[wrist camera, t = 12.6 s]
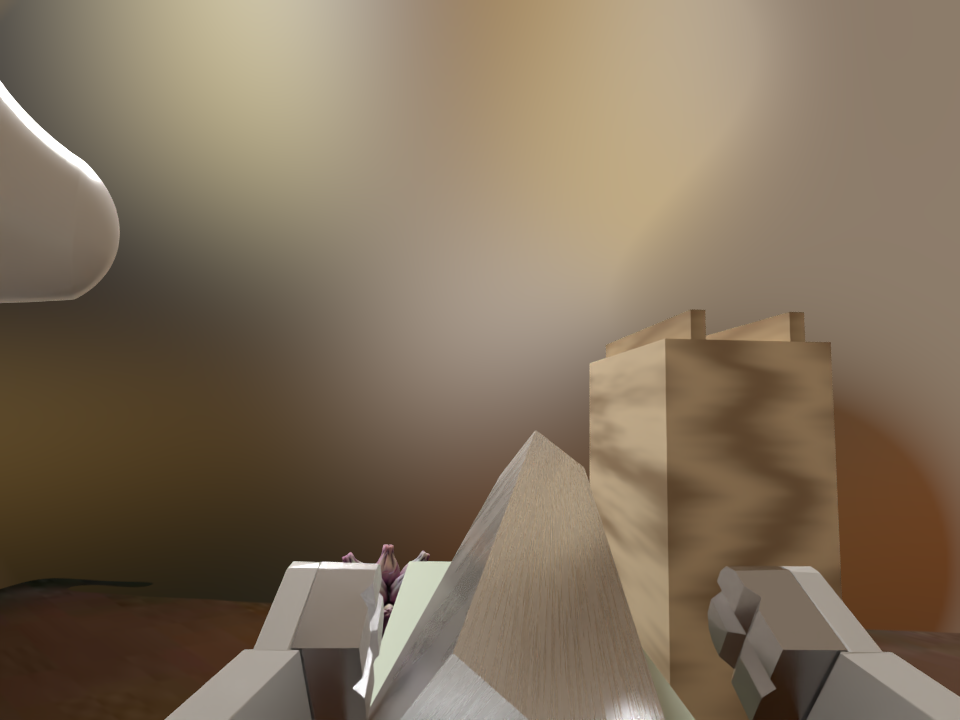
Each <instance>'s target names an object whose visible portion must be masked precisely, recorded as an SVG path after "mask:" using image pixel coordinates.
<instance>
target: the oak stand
mask: <svg viewBox="0 0 960 720" xmlns="http://www.w3.org/2000/svg"><path fill="white" fill-rule="evenodd" d="M590 487H591V491H592V494H593V497H594V500H595V503H596V506H597V509H598V512H599V515H600V518H601V522H602V525H603V528H604V531H605V534H606V537H607V540H608V543H609V546H610V549H611V553H612V556H613V559H614V562H615V565H616V568H617V571H618V574H619V577H620V581H621V584H622V587H623V590H624V593H625V596H626V599H627V602H628V605H629V608H630V612H631V615H632V618H633V621H634V624H635V627H636V630H637V633H638V636H639V639H640V643H641V646H642V648H643V649H644V651H645V652H646V653H647V655H648V656H649V657H650V659H651V660H652V661H653V663H654V664H655V666H656V667H657V668H658V670H659V671H660V672H661V674H662V675H663V676H664V678H665V679H666V681H667V682H668V683H669V685H670V686H671V687H672V689H673V690H674V691H675V693H676V694H677V696H678V697H679V698H680V700H681V701H682V702H683V704H684V705H685V706H686V708H687V709H688V711H689V712H690V713H691V715H692V716H693V717H694V719H695V720H749V718H748V716H747V714H746V712H745V710H744V708H743V706H742V704H741V702H740V700H739V698H738V695H737V693H736V691H735V689H734V687H733V685H732V683H731V680H732V675H733V670H734V669H733V668H732V667H731V666H730V665H729V664H727V663H726V662H725V661H724V660H723V659H722V658H720V657H719V655H718V653H717V651H716V649H715V646H714V644H713V642H712V639H711V635H710V632H709V626H708V609H709V606H710V602H711V599H712V598H713V597H715V596H716V595H717V594H718V593H720V592H721V591H722V590H721V588H720V586H719V584H718V582H717V580H718V577H719V574H720V571H721V570H722V569H723V568H725V567H726V566H779V567H782V566H811V567H812V568H814V569H815V570H817V571H818V572H819V573H820V574H821V575H822V576H823V578H824V579H825V580H826V581H827V583H828V584H829V585H830V586H831V588H832V589H833V590H834V591H835V593H836V594H837V595H838V596H839V598H840V599H841V600H842V592H841V568H840V545H839V524H838V501H837V477H836V455H835V433H834V411H833V388H832V366H831V343H830V342H805V330H804V313H803V312H788V313H785V314H781V315H777V316H774V317H771V318H767V319H763V320H760V321H756V322H753V323H750V324H746V325H742V326H739V327H735V328H731V329H728V330H725V331H721V332H718V333H714V334H710V335H707V336H706V326H705V310H688V311H686V312H684V313H681V314H679V315H676V316H674V317H672V318H669V319H667V320H665V321H662V322H660V323H658V324H655V325H653V326H650V327H648V328H645V329H643V330H641V331H638V332H636V333H633V334H631V335H629V336H626V337H624V338H622V339H619V340H617V341H614V342H612V343H610V344H607V345H606V358H604V359H601V360H598V361H595V362H592V363H590Z"/></svg>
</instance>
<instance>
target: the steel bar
mask: <svg viewBox="0 0 960 720" xmlns="http://www.w3.org/2000/svg"><path fill="white" fill-rule="evenodd" d="M368 720H665V717H664V714H663V711H662V708H661V705H660V702H659V698H658V695H657V692H656V689H655V686H654V683H653V680H652V677H651V674H650V670H649V667H648V664H647V661H646V658H645V655H644V652H643V649H642V646H641V643H640V639H639V636H638V633H637V630H636V627H635V624H634V621H633V618H632V615H631V612H630V608H629V605H628V602H627V599H626V596H625V593H624V590H623V587H622V584H621V581H620V577H619V574H618V571H617V568H616V565H615V562H614V559H613V556H612V553H611V549H610V546H609V543H608V540H607V537H606V534H605V531H604V528H603V525H602V522H601V518H600V515H599V512H598V509H597V506H596V503H595V500H594V497H593V494H592V491H591V487H590V484H589V482H588V478H587V475H586V472H585V469H584V467H583V466H581V465H580V464H579V463H577V462H576V461H575V460H574V459H572V458H571V457H570V456H569V455H567V454H566V453H565V452H563V451H562V450H560V449H559V448H558V447H557V446H556V445H554V444H553V443H552V442H551V441H549V440H548V439H547V438H545V437H544V436H543V435H542V434H540V433H539V432H538V431H536V430H535V431H534V433H533V434H532V435H531V437H530V438H529V439H528V440H527V442H526V443H525V444H524V446H523V447H522V448H521V449H520V451H519V452H518V453H517V455H516V456H515V457H514V458H513V460H512V461H511V462H510V464H509V465H508V466H507V467H506V469H505V470H504V471H503V473H502V474H501V475H500V477H499V478H498V480H497V482H496V484H495V486H494V487H493V489H492V491H491V493H490V494H489V496H488V498H487V500H486V501H485V503H484V505H483V507H482V509H481V511H480V512H479V514H478V516H477V517H476V520H475V521H474V523H473V525H472V526H471V528H470V530H469V532H468V534H467V535H466V537H465V539H464V541H463V543H462V544H461V546H460V548H459V550H458V551H457V553H456V555H455V557H454V558H453V560H452V562H451V564H450V566H449V567H448V569H447V571H446V573H445V575H444V576H443V578H442V580H441V582H440V583H439V585H438V587H437V589H436V591H435V592H434V594H433V596H432V598H431V599H430V601H429V603H428V605H427V607H426V608H425V610H424V612H423V614H422V615H421V617H420V619H419V621H418V623H417V624H416V626H415V628H414V630H413V632H412V633H411V635H410V637H409V639H408V640H407V642H406V644H405V646H404V648H403V649H402V651H401V653H400V655H399V656H398V658H397V660H396V662H395V664H394V665H393V667H392V669H391V671H390V672H389V674H388V676H387V678H386V680H385V681H384V683H383V685H382V687H381V689H380V690H379V692H378V694H377V696H376V697H375V699H374V701H373V703H372V705H371V706H370V710H369V715H368Z"/></svg>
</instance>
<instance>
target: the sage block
mask: <svg viewBox="0 0 960 720" xmlns="http://www.w3.org/2000/svg"><path fill="white" fill-rule="evenodd" d="M450 564H451V562H425V561H410V562H409V564H408V566H407V569H406V572H405V575H404V578H403V581H402V584H401V586H400V589H399V592H398V595H397V598H396V601H395V604H394V606H393V609H392V612H391V615H390V618H389V621H388V624H387V626H386V629H385V632H384V635H383V638H382V641H381V646H380V652H379V656H378V657H377V658H376V659H375V661H374V664H373V667H374V680H375V682H374V687H373V693H372V699H371V704H370V706H371V705H372V703H373V701H374V699H375V697H376V696H377V694H378V692H379V690H380V689H381V687H382V685H383V683H384V681H385V680H386V678H387V676H388V674H389V672H390V671H391V669H392V667H393V665H394V664H395V662H396V660H397V658H398V656H399V655H400V653H401V651H402V649H403V648H404V646H405V644H406V642H407V640H408V639H409V637H410V635H411V633H412V632H413V630H414V628H415V626H416V624H417V623H418V621H419V619H420V617H421V615H422V614H423V612H424V610H425V608H426V607H427V605H428V603H429V601H430V599H431V598H432V596H433V594H434V592H435V591H436V589H437V587H438V585H439V583H440V582H441V580H442V578H443V576H444V575H445V573H446V571H447V569H448V567H449V566H450ZM642 649H643V648H642ZM643 652H644V655H645V658H646V661H647V664H648V667H649V670H650V674H651V677H652V680H653V683H654V686H655V689H656V692H657V695H658V698H659V702H660V705H661V708H662V711H663V714H664V717H665V720H695V719H694V717H693V716H692V715H691V713H690V712H689V711H688V709H687V708H686V706H685V705H684V704H683V702H682V701H681V700H680V698H679V697H678V696H677V694H676V693H675V691H674V690H673V689H672V687H671V686H670V685H669V683H668V682H667V681H666V679H665V678H664V676H663V675H662V674H661V672H660V671H659V670H658V668H657V667H656V666H655V664H654V663H653V661H652V660H651V659H650V657H649V656H648V655H647V653H646V652H645V651H644V649H643Z"/></svg>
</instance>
